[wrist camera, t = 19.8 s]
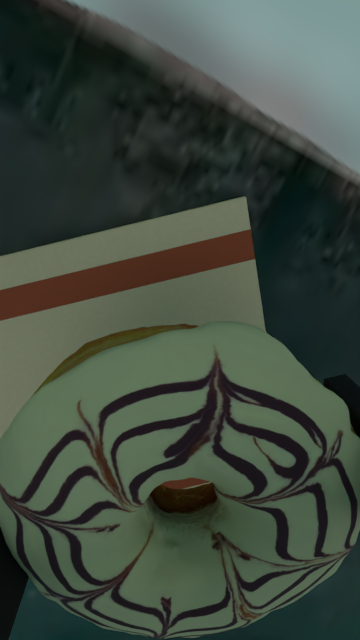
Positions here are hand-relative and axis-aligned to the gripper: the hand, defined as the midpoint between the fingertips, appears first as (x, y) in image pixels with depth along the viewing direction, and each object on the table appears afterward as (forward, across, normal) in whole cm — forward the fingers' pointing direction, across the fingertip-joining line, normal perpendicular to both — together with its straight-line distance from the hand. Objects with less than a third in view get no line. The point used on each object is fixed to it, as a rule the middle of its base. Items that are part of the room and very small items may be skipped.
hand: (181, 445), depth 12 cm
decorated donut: (0, 0, 0) cm, 0 cm away
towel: (+13, +5, +5) cm, 14 cm away
